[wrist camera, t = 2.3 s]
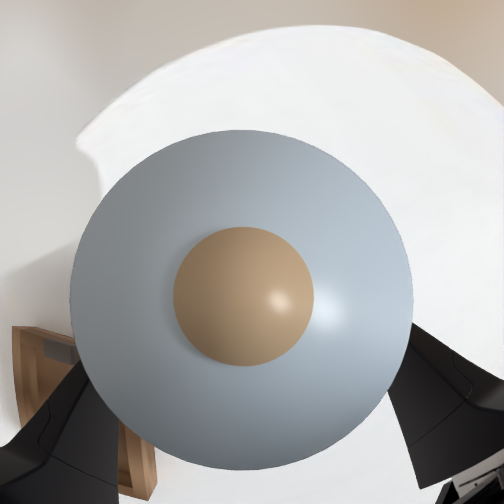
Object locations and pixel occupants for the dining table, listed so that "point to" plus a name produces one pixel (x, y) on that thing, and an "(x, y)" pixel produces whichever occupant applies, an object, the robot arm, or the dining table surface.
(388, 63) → the dining table surface
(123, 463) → the square wooden tray
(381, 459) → the dining table surface
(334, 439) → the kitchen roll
